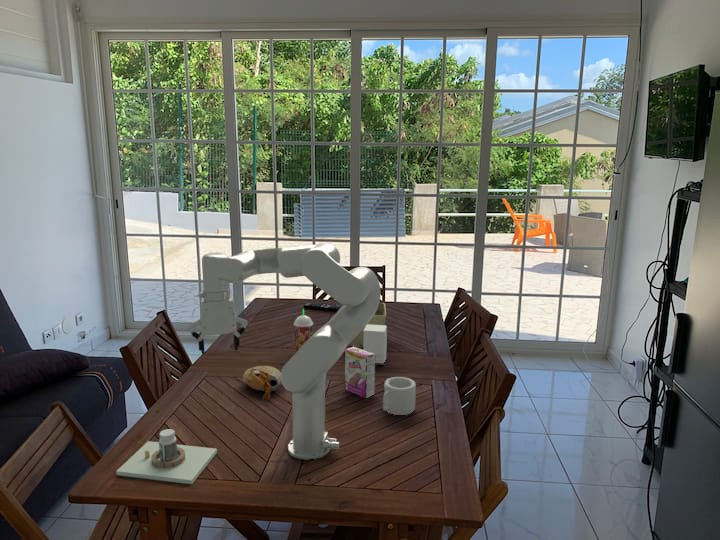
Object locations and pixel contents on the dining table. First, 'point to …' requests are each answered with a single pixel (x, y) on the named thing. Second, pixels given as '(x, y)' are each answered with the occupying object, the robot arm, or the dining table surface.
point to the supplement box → (375, 341)
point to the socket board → (167, 463)
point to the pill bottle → (168, 445)
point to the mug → (399, 396)
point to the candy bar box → (360, 371)
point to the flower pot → (372, 323)
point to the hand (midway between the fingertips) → (219, 350)
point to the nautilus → (263, 378)
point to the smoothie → (302, 330)
